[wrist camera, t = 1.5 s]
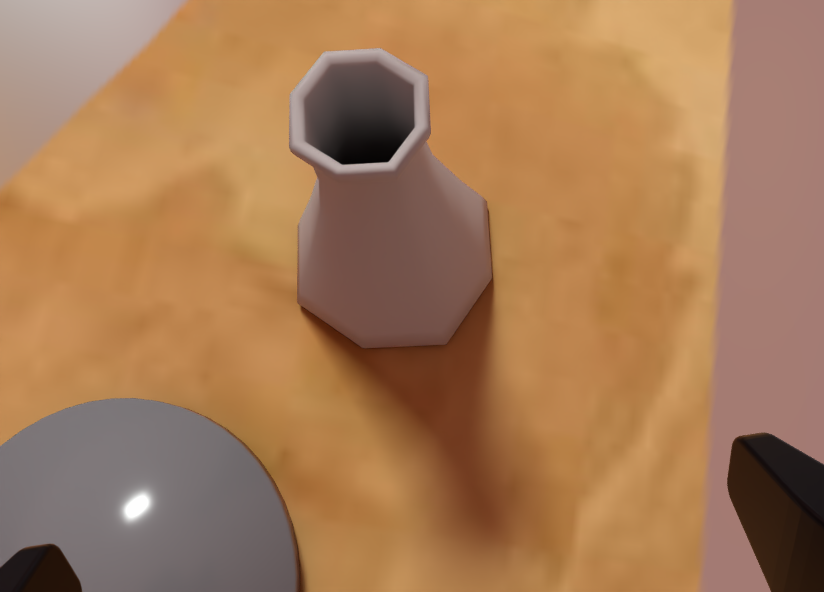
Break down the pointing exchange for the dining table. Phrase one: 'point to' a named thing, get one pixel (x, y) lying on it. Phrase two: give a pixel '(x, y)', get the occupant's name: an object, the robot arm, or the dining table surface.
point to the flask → (382, 207)
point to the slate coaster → (146, 501)
